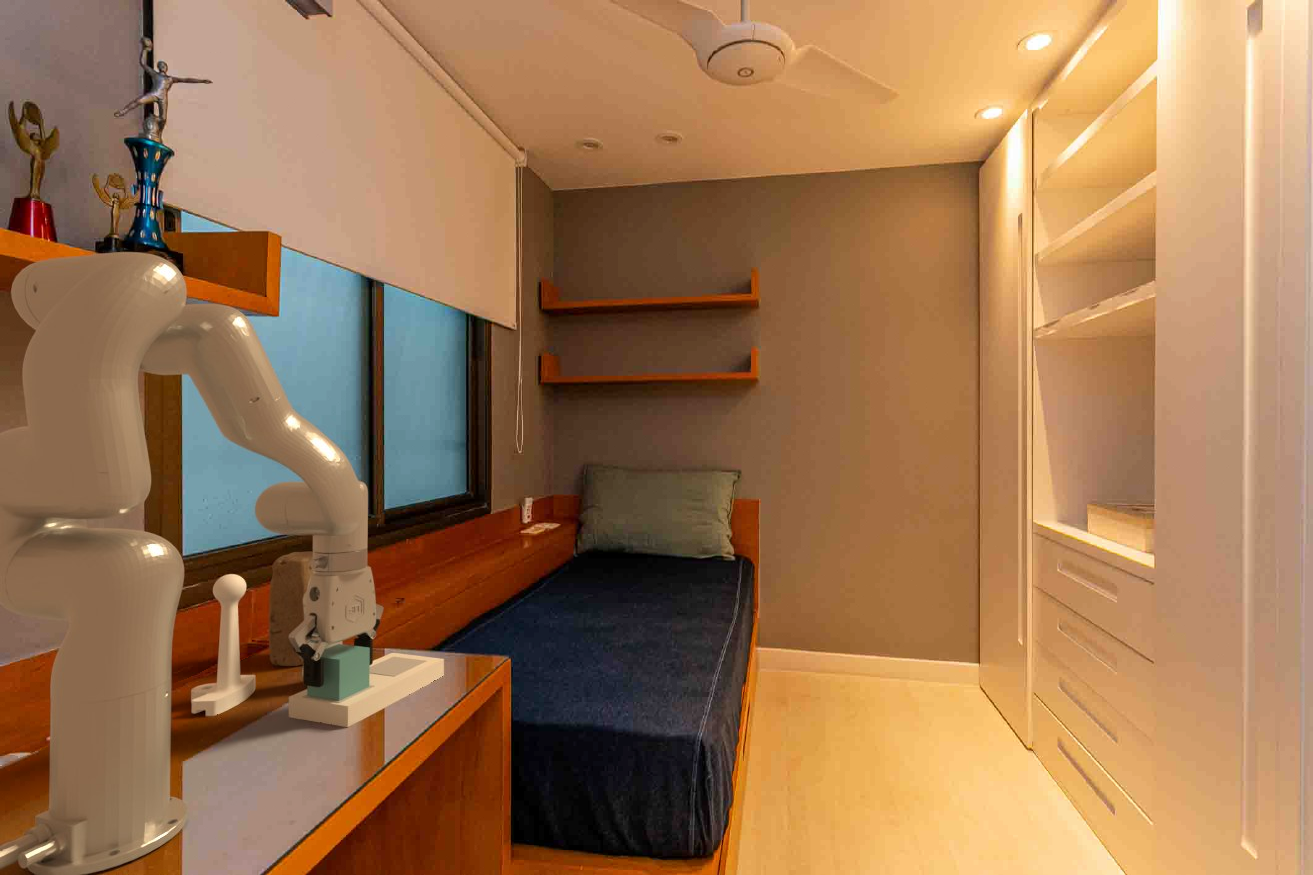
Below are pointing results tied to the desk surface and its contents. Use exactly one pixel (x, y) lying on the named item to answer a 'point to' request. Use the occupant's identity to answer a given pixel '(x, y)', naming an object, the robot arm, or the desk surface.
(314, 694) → the cube
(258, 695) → the desk surface
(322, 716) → the board
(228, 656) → the joystick
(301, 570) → the block
